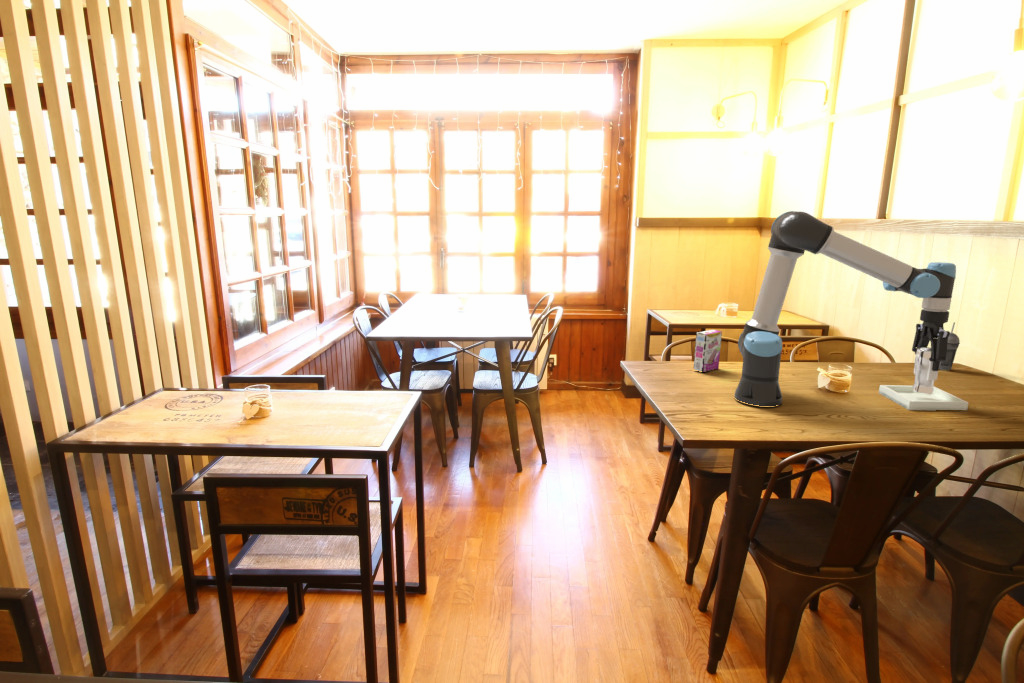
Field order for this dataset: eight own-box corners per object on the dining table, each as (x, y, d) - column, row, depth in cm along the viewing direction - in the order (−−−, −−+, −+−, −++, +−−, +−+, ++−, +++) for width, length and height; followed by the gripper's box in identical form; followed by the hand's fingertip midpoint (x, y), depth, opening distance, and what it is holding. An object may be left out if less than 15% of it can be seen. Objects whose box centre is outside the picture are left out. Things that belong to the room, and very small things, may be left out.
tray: (908, 409, 184) (909, 401, 184) (878, 392, 202) (879, 384, 201) (966, 411, 183) (968, 402, 182) (931, 393, 200) (933, 385, 200)
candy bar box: (703, 373, 228) (706, 334, 224) (692, 371, 232) (695, 332, 228) (719, 369, 234) (722, 330, 231) (709, 366, 238) (712, 328, 235)
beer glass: (940, 393, 190) (947, 350, 186) (926, 396, 187) (933, 352, 184) (918, 387, 196) (925, 346, 193) (905, 390, 194) (911, 348, 190)
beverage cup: (945, 367, 235) (953, 320, 230) (959, 371, 228) (968, 323, 223) (928, 367, 234) (936, 320, 230) (942, 372, 227) (950, 323, 223)
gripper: (968, 314, 175) (956, 385, 181) (928, 305, 195) (918, 369, 200) (942, 314, 176) (931, 385, 181) (905, 305, 195) (896, 368, 200)
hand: (924, 376), depth 190 cm, fingers closed on beer glass, 7 cm apart
